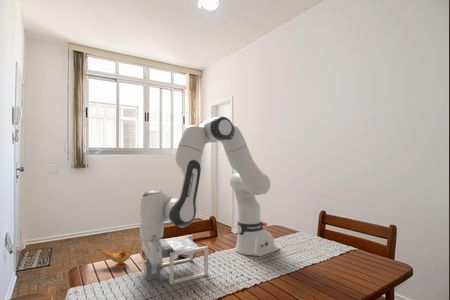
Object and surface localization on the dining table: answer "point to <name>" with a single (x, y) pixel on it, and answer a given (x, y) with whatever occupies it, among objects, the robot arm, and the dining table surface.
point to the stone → (148, 273)
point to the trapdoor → (176, 245)
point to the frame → (186, 261)
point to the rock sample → (185, 255)
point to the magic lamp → (118, 256)
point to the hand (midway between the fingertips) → (151, 268)
